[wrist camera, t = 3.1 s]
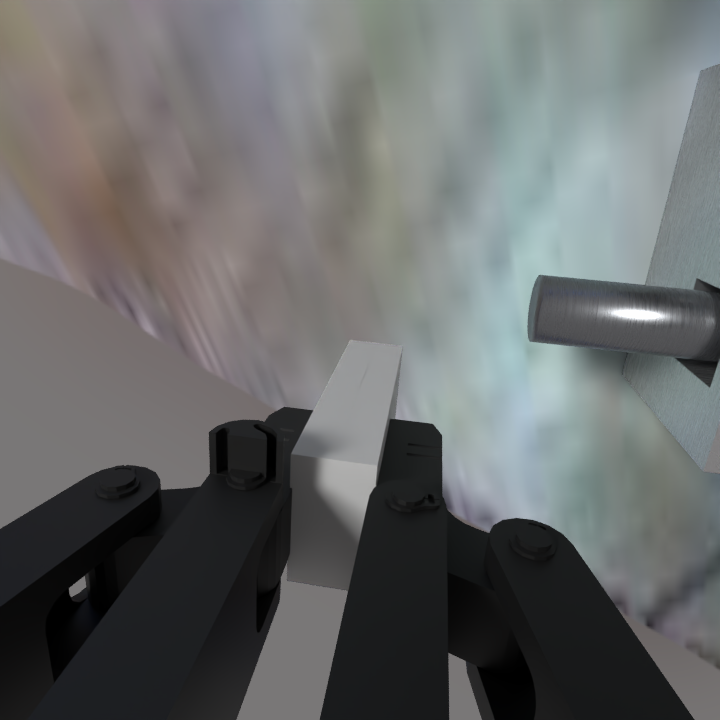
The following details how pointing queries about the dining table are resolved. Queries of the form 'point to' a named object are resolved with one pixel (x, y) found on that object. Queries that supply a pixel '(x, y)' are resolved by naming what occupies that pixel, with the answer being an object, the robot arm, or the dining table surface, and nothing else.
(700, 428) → the grey box
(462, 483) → the dining table surface
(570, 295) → the axle
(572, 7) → the dining table surface
